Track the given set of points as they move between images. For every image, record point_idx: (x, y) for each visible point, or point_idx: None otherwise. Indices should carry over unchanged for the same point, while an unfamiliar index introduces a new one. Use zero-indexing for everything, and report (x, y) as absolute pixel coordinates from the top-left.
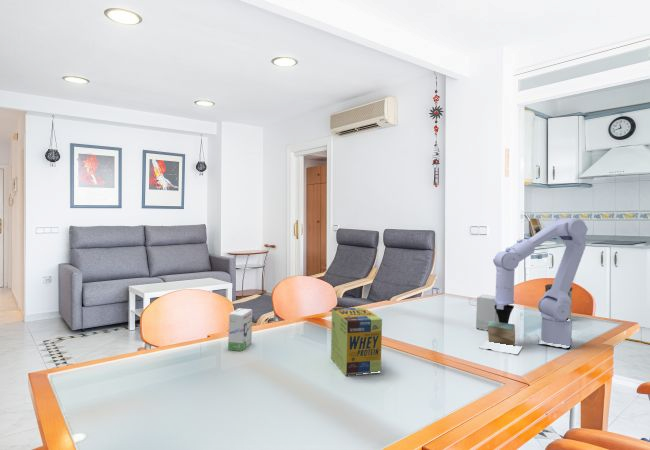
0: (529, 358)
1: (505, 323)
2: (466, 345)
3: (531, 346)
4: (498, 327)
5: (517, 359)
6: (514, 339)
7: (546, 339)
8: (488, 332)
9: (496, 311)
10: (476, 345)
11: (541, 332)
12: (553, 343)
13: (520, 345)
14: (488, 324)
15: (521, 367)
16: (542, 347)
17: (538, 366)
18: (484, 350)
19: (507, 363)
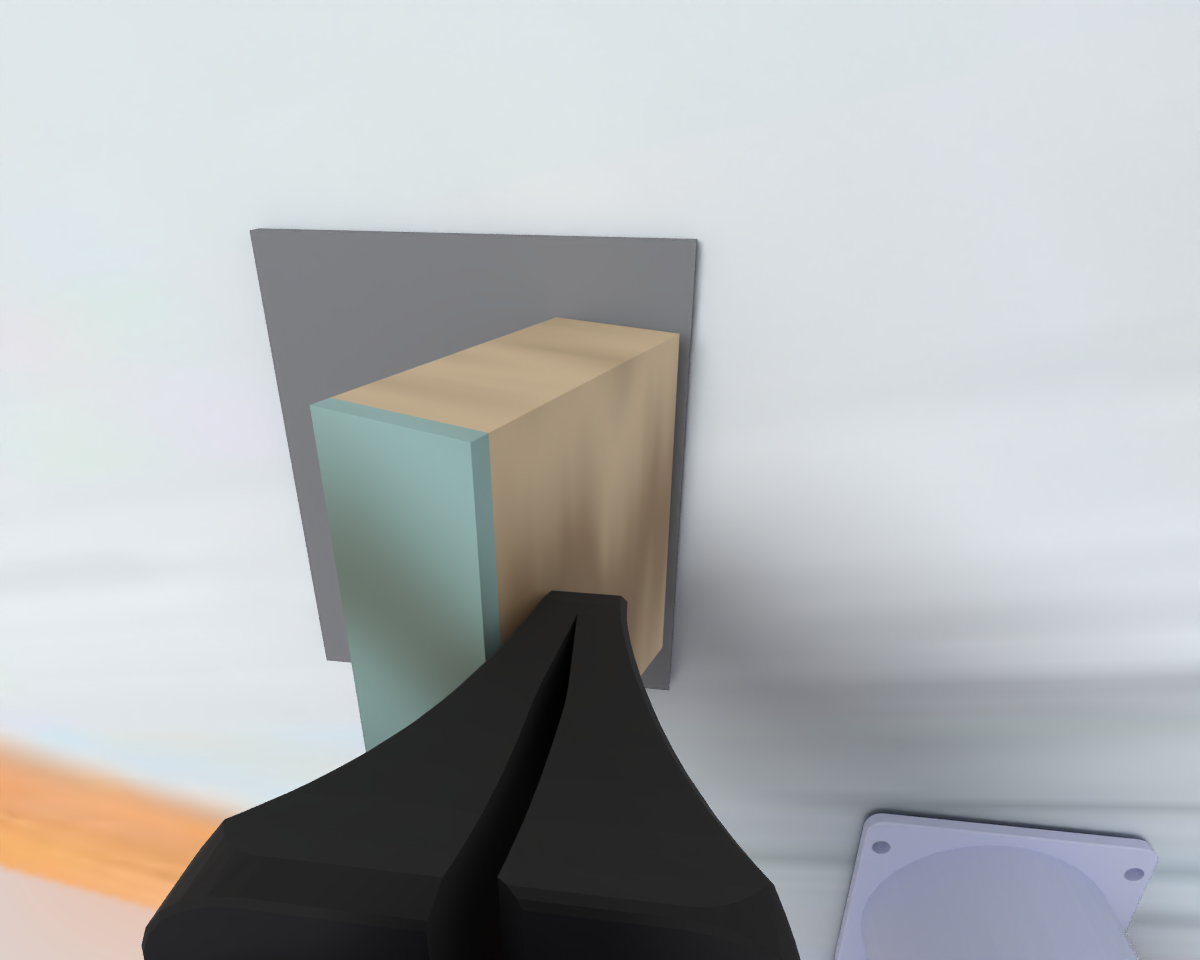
0: (326, 739)
1: None
2: (257, 14)
3: (763, 750)
4: (341, 598)
5: (212, 656)
6: None
7: (894, 929)
8: (431, 367)
9: (324, 778)
10: (368, 163)
11: (1013, 953)
12: (865, 946)
13: (736, 657)
14: (345, 419)
15: (33, 692)
16: (787, 833)
17: (172, 795)
18: (233, 317)
19: (26, 591)
